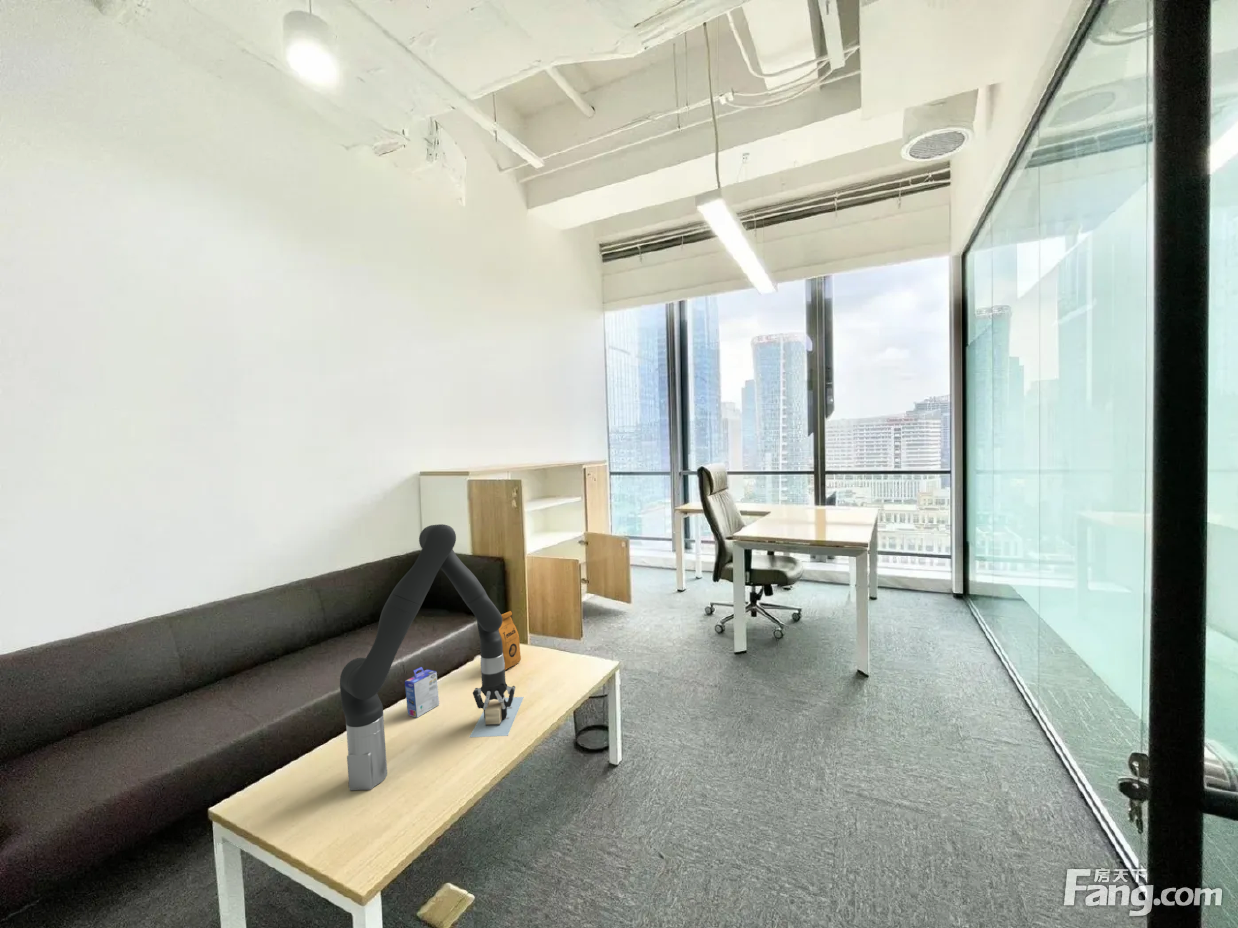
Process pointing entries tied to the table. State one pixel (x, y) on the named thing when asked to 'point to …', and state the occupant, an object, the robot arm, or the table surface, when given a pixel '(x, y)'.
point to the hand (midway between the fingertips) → (496, 718)
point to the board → (504, 727)
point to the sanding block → (493, 713)
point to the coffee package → (509, 641)
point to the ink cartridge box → (421, 692)
